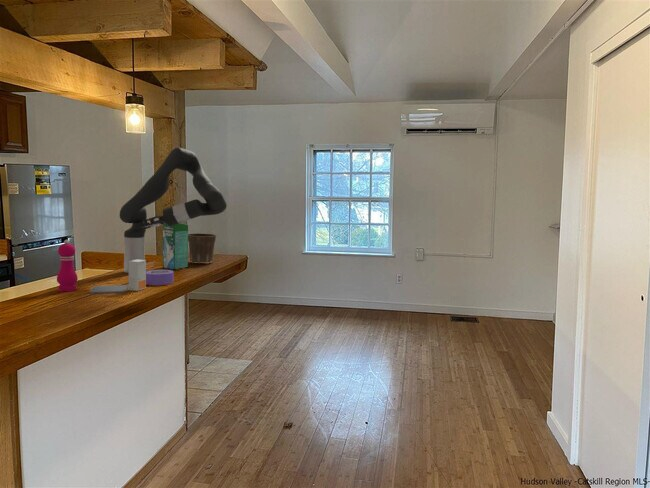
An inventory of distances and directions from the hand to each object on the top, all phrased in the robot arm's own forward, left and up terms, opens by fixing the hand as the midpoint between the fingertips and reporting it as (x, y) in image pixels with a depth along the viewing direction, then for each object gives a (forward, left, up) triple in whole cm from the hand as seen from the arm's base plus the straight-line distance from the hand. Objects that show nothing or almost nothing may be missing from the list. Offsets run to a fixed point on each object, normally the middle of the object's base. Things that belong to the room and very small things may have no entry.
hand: (138, 227), depth 190 cm
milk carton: (-53, +14, -26) cm, 61 cm away
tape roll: (-13, +8, -26) cm, 30 cm away
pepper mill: (-1, -26, -26) cm, 37 cm away
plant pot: (-70, +28, -26) cm, 80 cm away
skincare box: (+1, 0, -26) cm, 26 cm away
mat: (+1, -11, -25) cm, 28 cm away
